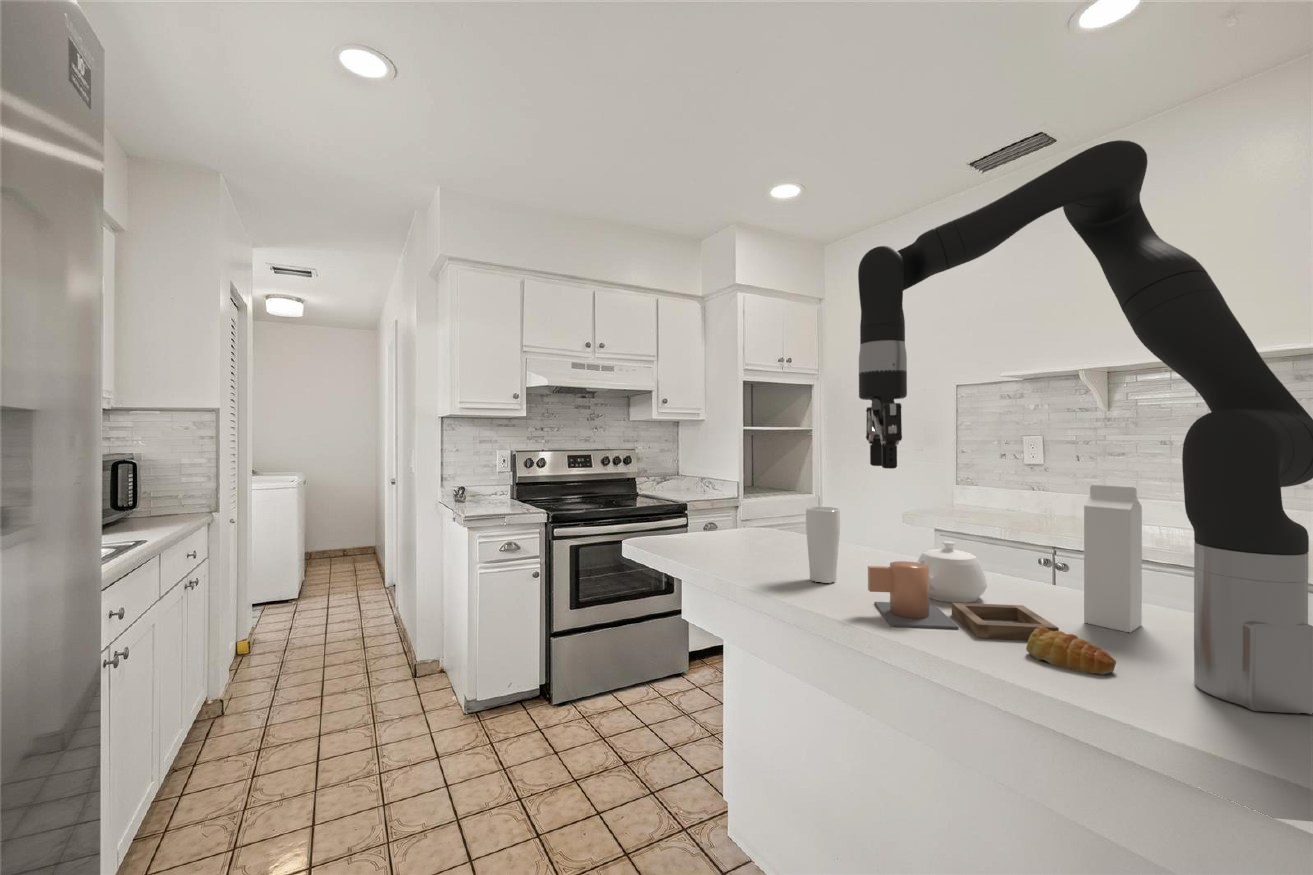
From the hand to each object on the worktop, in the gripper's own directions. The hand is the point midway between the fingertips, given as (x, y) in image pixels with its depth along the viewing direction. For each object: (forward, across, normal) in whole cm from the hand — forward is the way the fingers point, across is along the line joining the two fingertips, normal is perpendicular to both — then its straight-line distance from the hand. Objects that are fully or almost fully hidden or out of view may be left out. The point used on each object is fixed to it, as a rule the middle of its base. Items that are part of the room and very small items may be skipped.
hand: (882, 467), depth 96 cm
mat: (+25, 0, -5) cm, 25 cm away
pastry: (+26, -17, -20) cm, 36 cm away
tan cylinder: (+24, 0, -2) cm, 25 cm away
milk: (+25, 0, -35) cm, 43 cm away
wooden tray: (+25, -4, -17) cm, 30 cm away
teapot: (+25, +13, -14) cm, 32 cm away
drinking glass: (+25, +21, +7) cm, 34 cm away
